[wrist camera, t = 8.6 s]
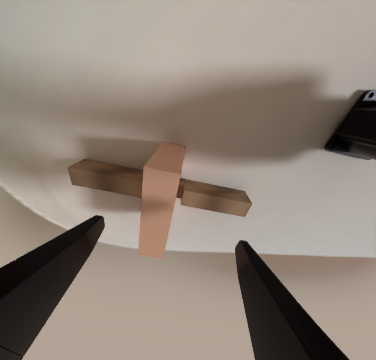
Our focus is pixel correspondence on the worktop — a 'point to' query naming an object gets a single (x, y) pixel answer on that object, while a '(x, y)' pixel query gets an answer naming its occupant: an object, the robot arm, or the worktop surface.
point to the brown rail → (133, 179)
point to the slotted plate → (159, 198)
